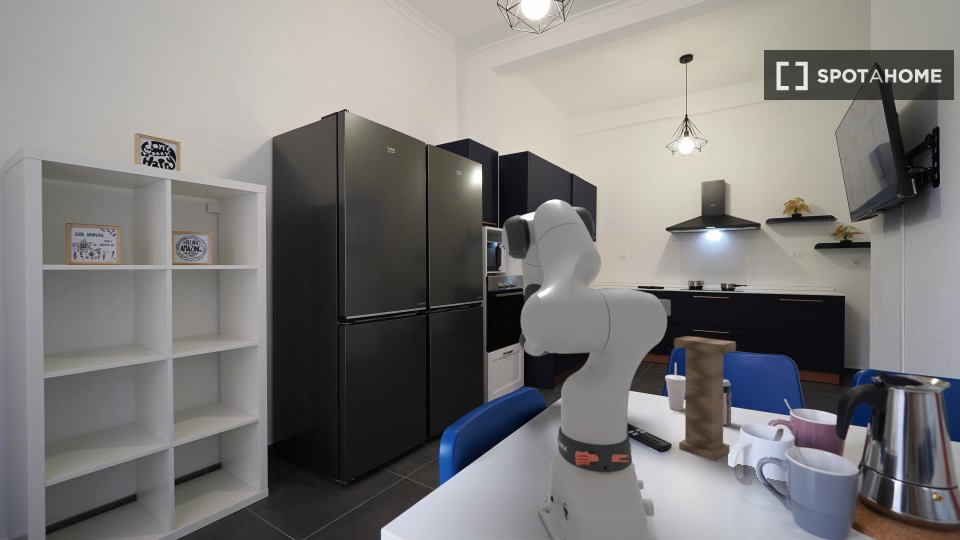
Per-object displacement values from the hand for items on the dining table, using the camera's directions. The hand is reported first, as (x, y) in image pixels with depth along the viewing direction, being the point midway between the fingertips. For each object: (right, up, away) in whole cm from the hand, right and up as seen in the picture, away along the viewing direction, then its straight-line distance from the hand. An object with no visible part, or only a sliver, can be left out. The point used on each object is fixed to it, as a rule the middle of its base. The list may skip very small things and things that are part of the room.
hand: (615, 304), depth 116 cm
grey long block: (+4, -2, -4) cm, 6 cm away
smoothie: (+22, -33, +11) cm, 42 cm away
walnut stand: (+15, -33, -19) cm, 41 cm away
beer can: (+29, -33, -1) cm, 44 cm away
